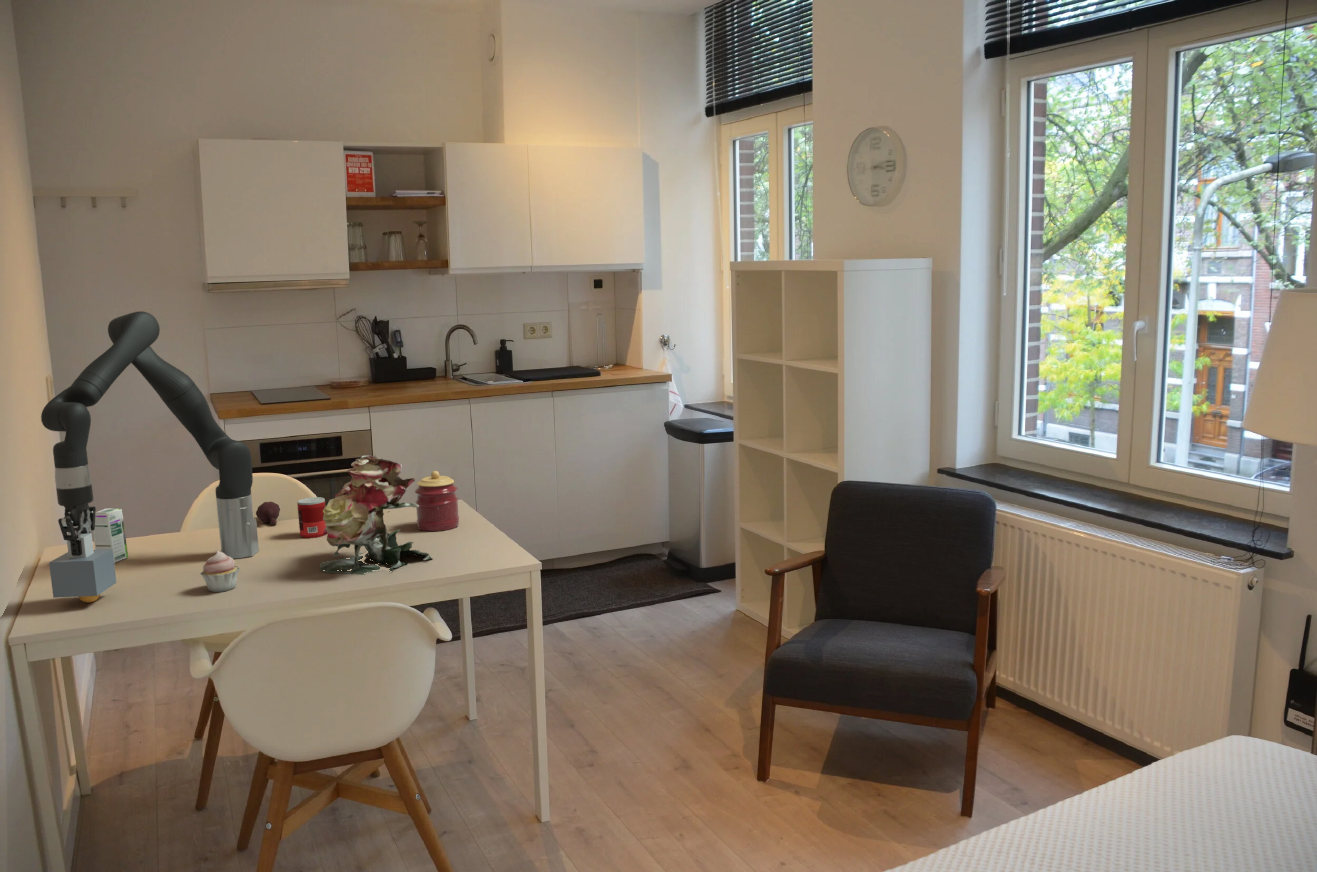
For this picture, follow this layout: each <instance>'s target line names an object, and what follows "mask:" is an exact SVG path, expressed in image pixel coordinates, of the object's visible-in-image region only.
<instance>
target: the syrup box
mask: <svg viewBox="0 0 1317 872" xmlns="http://www.w3.org/2000/svg"><path fill="white" fill-rule="evenodd" d="M92 537H93V541H94V543H93V544H94V548H95V549H94V550H102V549H113V557H114V564H116V563H117V562H120V561H122V559H123V560H125V559H128V558H129V552H128V551H129V550H128V545H127V537H126V529H125V523H124V515H123V509H122V508H114V507H113V508H112V507H111V508H110V507H109V508H103V509H102V510H98V511H96V513H95V530H92Z"/></svg>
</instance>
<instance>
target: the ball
mask: <svg viewBox="0 0 1317 872" xmlns="http://www.w3.org/2000/svg"><path fill="white" fill-rule="evenodd" d="M100 596H101V594H99V595H98V596H80V597H78V598H79V600H80V601H82V602H83V603H93V602H95V601H97V600H98V599H99V598H100Z"/></svg>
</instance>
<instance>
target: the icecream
mask: <svg viewBox="0 0 1317 872" xmlns="http://www.w3.org/2000/svg"><path fill="white" fill-rule="evenodd" d="M280 512H281V508H280V505H279V504H277V503H275V502H273V501H264V502H262V504H260V505H259V506H257V509H256V511H255V515H256V518H257V519H259V520H260V521H262V522H263V523H268V524H271V525H272V526H273V527H274V526H276V525H277V522H278V521H277V519H279V516H280Z"/></svg>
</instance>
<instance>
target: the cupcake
mask: <svg viewBox="0 0 1317 872" xmlns="http://www.w3.org/2000/svg"><path fill="white" fill-rule="evenodd" d="M240 569H241V567H239V566H238V565H236V562H235V558H234V559H233V558H231V557H229V556H226V555H225V554H224V553H222V552H221V550H220V551H219V550H216V551H215V555H213V556H211V557H209V558H208V559H207V560H206V563H204V565H202V572H200V573H199V574H200V575H201V576H202V578H203V579H204V582H205V585H206V586H207V589H208V591H209V592H211V593H212V592H213V593H222V592H228V591H231V590H233V589H234V588H236V585H237V579H238V576H239V572H240Z"/></svg>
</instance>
